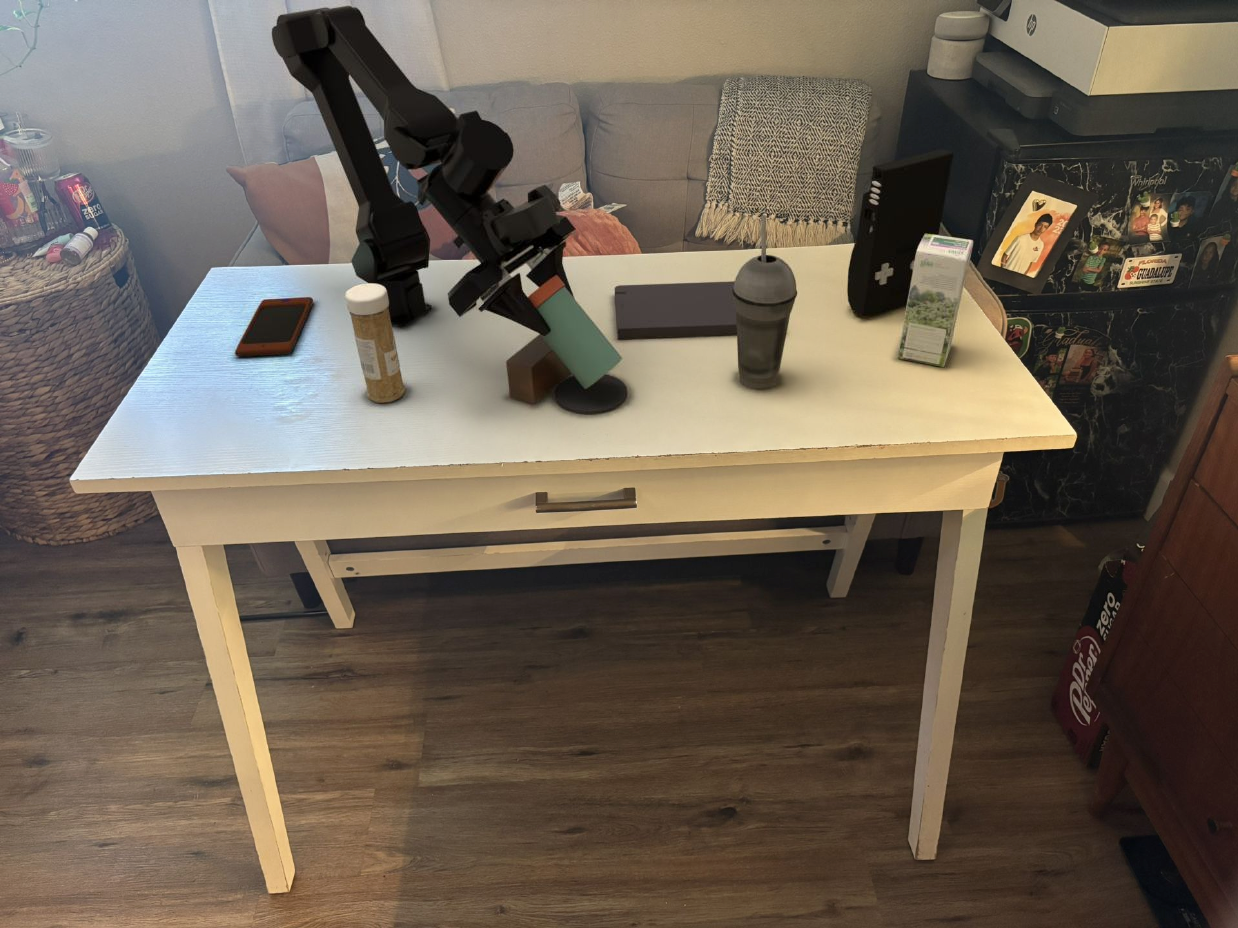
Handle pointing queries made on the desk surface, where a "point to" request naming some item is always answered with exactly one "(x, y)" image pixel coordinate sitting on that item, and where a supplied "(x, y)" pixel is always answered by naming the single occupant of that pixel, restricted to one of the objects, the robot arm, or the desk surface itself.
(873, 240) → the handheld gaming console
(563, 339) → the container
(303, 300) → the smartphone
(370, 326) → the sprinkles bottle
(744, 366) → the beverage cup
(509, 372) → the block
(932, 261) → the syrup box
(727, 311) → the notebook
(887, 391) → the desk surface
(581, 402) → the coaster
